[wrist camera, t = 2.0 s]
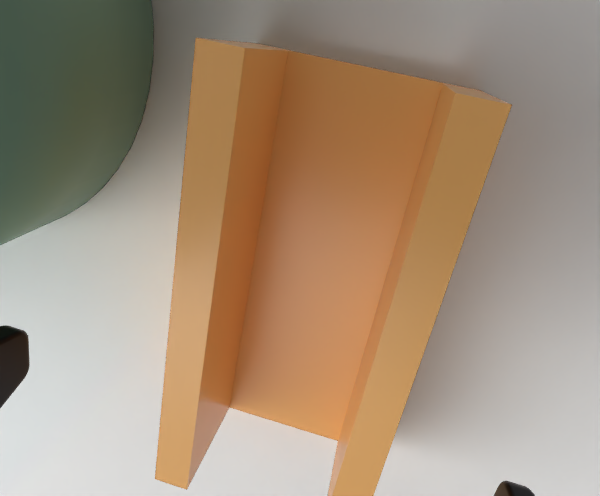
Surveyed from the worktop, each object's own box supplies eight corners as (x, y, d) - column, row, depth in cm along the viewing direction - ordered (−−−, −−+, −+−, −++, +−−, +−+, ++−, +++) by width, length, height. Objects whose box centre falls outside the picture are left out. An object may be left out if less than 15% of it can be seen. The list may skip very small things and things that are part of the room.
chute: (367, 433, 17) (355, 545, 13) (211, 385, 18) (154, 478, 14) (479, 90, 13) (511, 104, 9) (260, 43, 13) (195, 37, 9)
